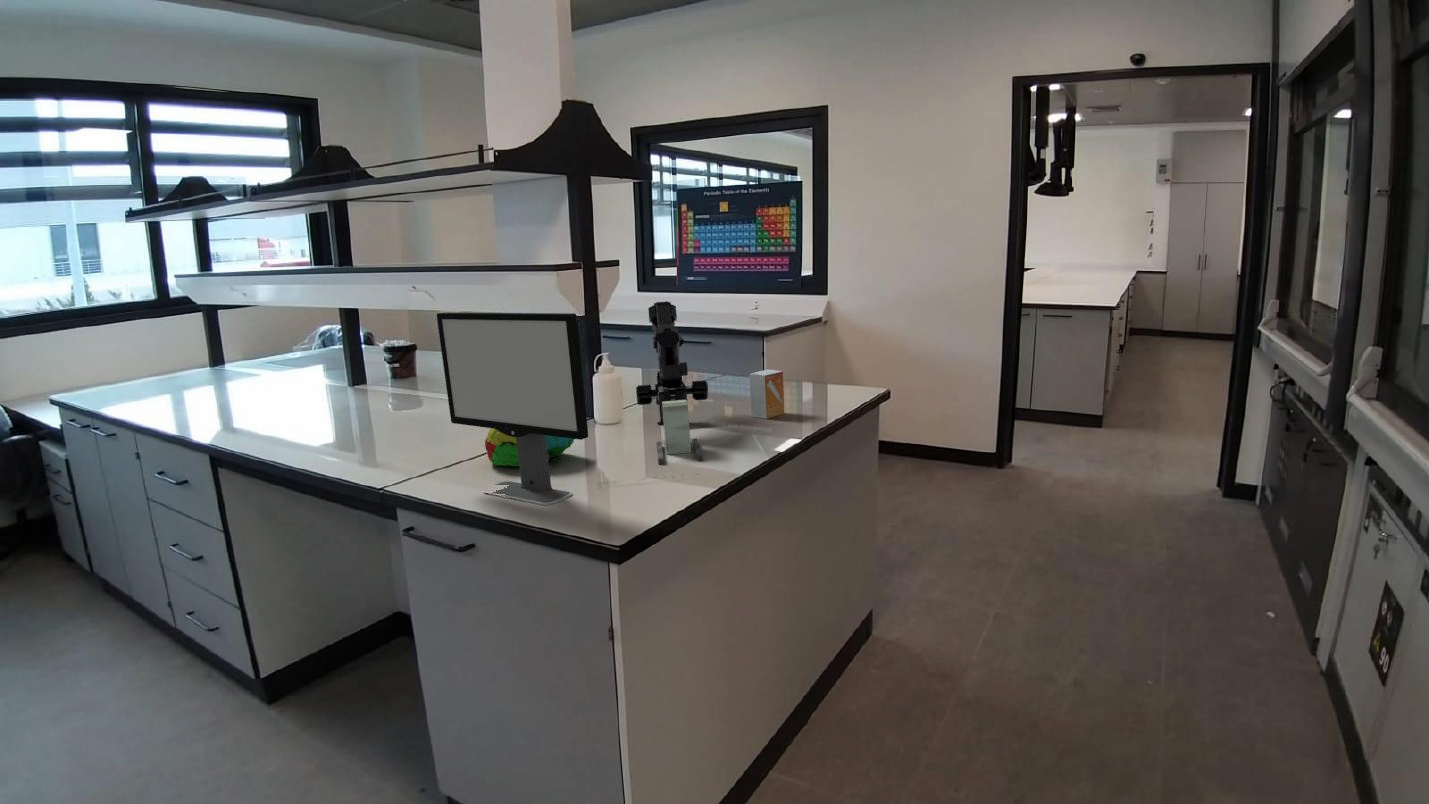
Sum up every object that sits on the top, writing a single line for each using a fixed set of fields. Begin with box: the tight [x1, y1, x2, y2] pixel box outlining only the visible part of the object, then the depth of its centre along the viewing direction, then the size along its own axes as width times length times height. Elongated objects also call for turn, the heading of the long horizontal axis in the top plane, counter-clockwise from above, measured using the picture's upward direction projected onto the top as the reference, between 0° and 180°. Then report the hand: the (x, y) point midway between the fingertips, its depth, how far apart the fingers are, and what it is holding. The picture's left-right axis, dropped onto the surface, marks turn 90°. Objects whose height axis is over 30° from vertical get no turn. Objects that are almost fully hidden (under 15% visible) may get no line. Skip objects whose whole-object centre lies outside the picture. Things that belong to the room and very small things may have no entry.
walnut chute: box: [656, 437, 704, 466], centre depth 192 cm, size 16×12×3 cm
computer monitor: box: [436, 311, 589, 506], centre depth 169 cm, size 41×8×40 cm, turn 56°
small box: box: [749, 369, 785, 420], centre depth 230 cm, size 8×6×13 cm
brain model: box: [484, 428, 575, 467], centre depth 197 cm, size 24×19×15 cm
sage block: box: [662, 400, 692, 455], centre depth 193 cm, size 6×6×12 cm
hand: (674, 419), depth 202 cm, fingers closed
